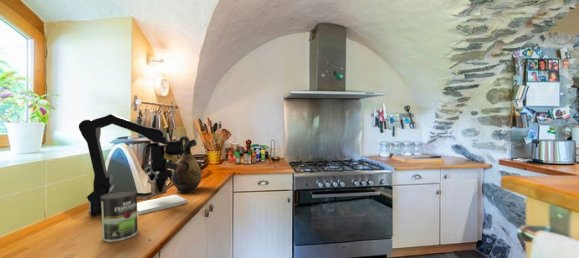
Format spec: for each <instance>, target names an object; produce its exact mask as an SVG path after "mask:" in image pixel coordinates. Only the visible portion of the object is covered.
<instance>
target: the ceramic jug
mask: <svg viewBox="0 0 579 258" xmlns="http://www.w3.org/2000/svg"><path fill="white" fill-rule="evenodd" d="M178 141H181V147H182V155H179V159H178V160H177V162H175V163H176V164H178V166H177V169H176V171H175V170H172V171H171V172H172V175H173V176H172V177H171V182H172V184H173V186H174V187H175V188H176V190H177V193H180V194H190V193H193V192H196V189H197V187H198V186H199V185H200V183H201V182H202V174H203V173H202V170H201V166H200V164H199V163H198V161H197V158H195V157H194V155H193V154H192V152H191V148H193V147H195V146H197V141H196V140H195V139H191V140H190V139H189V136H186V135H182V136H181V137H179V138H178Z"/></svg>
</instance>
